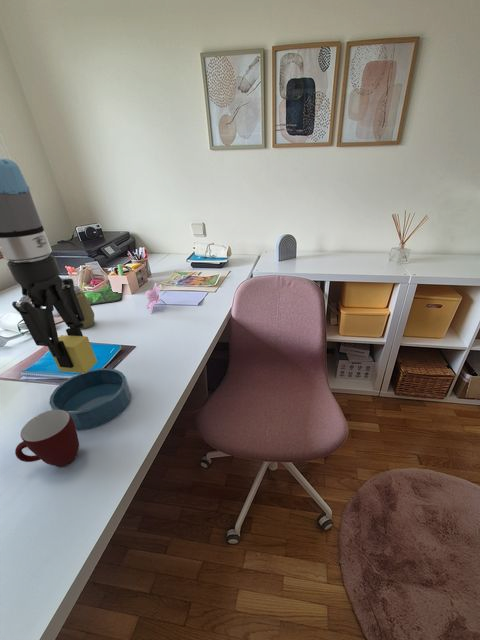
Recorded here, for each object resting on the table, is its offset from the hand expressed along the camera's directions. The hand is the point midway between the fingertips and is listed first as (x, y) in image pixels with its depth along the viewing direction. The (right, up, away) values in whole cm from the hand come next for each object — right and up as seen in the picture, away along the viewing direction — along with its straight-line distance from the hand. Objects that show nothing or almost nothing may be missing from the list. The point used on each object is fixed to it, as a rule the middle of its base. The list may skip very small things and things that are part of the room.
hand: (74, 359), depth 68 cm
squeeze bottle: (-22, +11, +42) cm, 49 cm away
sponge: (0, -2, +1) cm, 2 cm away
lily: (0, +19, +54) cm, 57 cm away
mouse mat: (-32, +28, +68) cm, 80 cm away
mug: (+2, -21, -7) cm, 22 cm away
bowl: (+1, -11, +7) cm, 13 cm away
